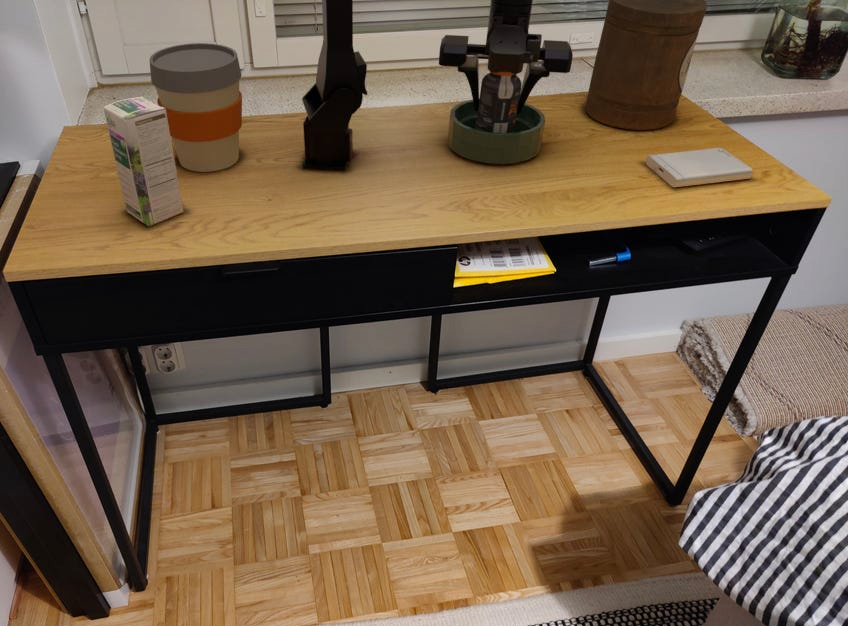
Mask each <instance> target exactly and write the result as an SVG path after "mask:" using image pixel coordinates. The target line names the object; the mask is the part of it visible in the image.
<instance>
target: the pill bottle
mask: <svg viewBox="0 0 848 626" xmlns="http://www.w3.org/2000/svg"><path fill="white" fill-rule="evenodd" d="M521 87H522V80H521V78H520V77H519V76H518V74H512V73H511V72H498V73H494V72H490V71H489V73H487V74H485V75H484V76H483V77H482V79H481V84H480V90H479V106H478V113H477V120H476V130H480V131H485V132H491V133H513V132H514V127H515V120H516V115H517V109H518V103H519V97H520V91H521Z"/></svg>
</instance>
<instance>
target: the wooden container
mask: <svg viewBox="0 0 848 626" xmlns="http://www.w3.org/2000/svg"><path fill="white" fill-rule="evenodd" d="M707 7H708V3H707V1H706V0H608V4H607V10H606V13H605V19H604V22H603V26H602V30H601V35H600V39H599V43H598V47H597V51H596V56H595V59H594V64H593V68H592V73H591V77H590V82H589V87H588V92H587V96H586V101H585V106H584V110H585V112H586V114H587V115H588V116H589V117H590V118H591V119H592V120H593V119H594V120H595V121H597V122H599V123H601V124H604V125H607V126H609V127H614V128H618V129H623V130H633V131H650V130H657V129H660V128H661V129H662V128H664V127H667V126H668V125H670V124H671V123H672V122H673V121H674V119H675V116H676V113H677V110H678V106H679V104H680V103H679V102H680V99H681V96H682V94H683V90H684V87H685V83H686V80H687V76H688V73H689V69H690V66H691V61H692V58H693V54H694V50H695V46H696V44H697V40H698V37H699V32H700V28H702V25H703V22H704V19H705V15H706V11H707Z"/></svg>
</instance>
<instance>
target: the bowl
mask: <svg viewBox="0 0 848 626" xmlns="http://www.w3.org/2000/svg"><path fill="white" fill-rule="evenodd" d="M477 113H478V112H477V111H475V108H474V103H473V99H468V100H464V101H462V102H460V103H457V104H455V106H453V107H452V108H451V109H450V113H449V122H448V123H449V125H448V135H447V145H448V147H449V148H450V150H451V151H452V152H454V153H455V154H457V155H458V156H460V157H463V158H465V159H468V160H470V161H475V162H479V163H483V164H492V165H507V164H517V163H521V162H524V161H528V160H530V159H532V158H534V157H535V156H537V155H538V153H539V152H540V151H541V149H542V143H543V137H544V131H545V126H546V116H545V114H544V113H543V112H542V111H541V110H540V109H539V108H537V107H535V106H534V105H532V104H529V103H526V102H525V104H524V106H523V108H522V110H521V112H520V114H517V115H516V120H515V127H514V132H513V133H491V132H485V131H480V130H476V120H477Z"/></svg>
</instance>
